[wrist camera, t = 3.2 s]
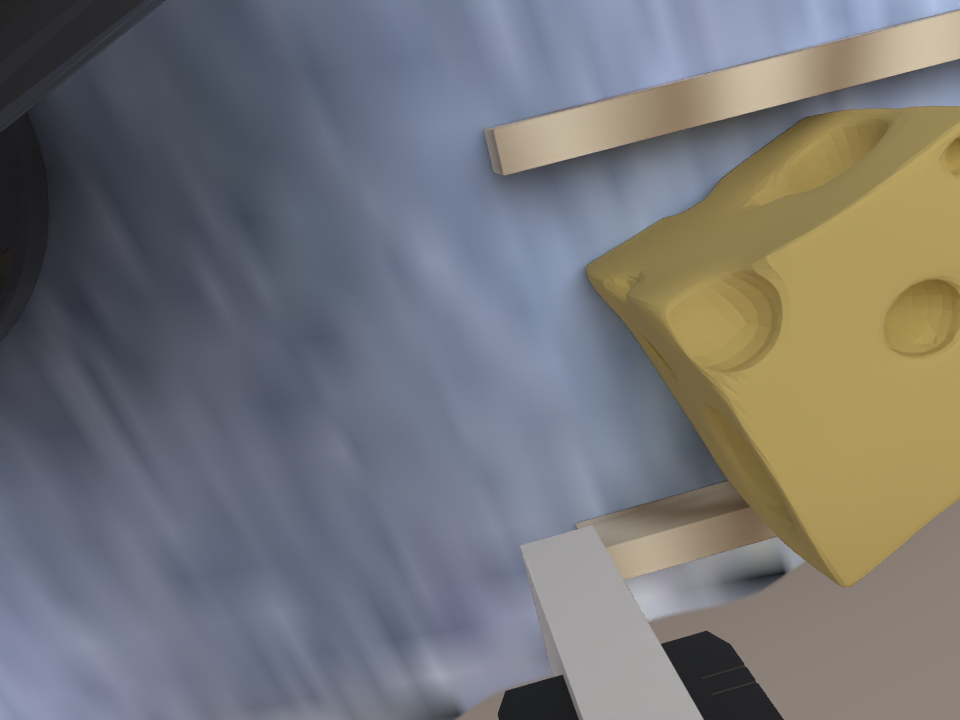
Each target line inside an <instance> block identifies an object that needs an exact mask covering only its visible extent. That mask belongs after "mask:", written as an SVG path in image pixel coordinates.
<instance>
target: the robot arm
mask: <svg viewBox="0 0 960 720" xmlns="http://www.w3.org/2000/svg"><path fill="white" fill-rule="evenodd" d="M164 1H166V0H0V341H1V340H2V339H3V338H4V337H5V335H6V334H7V333H8V331H9V330H10V329H11V327H12V326H13V325H14V323H15V322H16V320H17V319H18V317H19V315H20V314H21V312H22V311H23V309H24V307H25V305H26V303H27V301H28V299H29V297H30V295H31V293H32V290H33V288H34V285H35V283H36V280H37V277H38V274H39V271H40V268H41V264H42V260H43V256H44V251H45V245H46V238H47V228H48V195H47V184H46V178H45V172H44V166H43V162H42V158H41V154H40V150H39V146H38V143H37V140H36V137H35V134H34V131H33V128H32V126H31V123H30V121H29V119H28V116H27V114H26V112H27V111H28V110H29V109H31V108H32V107H33V106H34V105H36V104H37V103H38V102H39V101H41V100H42V99H43V98H44V97H46V96H47V95H48V94H49V93H51V92H52V91H53V90H54V89H56V88H57V87H58V86H59V85H61V84H62V83H63V82H64V81H66V80H67V79H68V78H69V77H71V76H72V75H73V74H74V73H76V72H77V71H78V70H79V69H81V68H82V67H83V66H84V65H86V64H87V63H88V62H89V61H91V60H92V59H93V58H94V57H96V56H97V55H98V54H99V53H101V52H102V51H103V50H104V49H106V48H107V47H108V46H109V45H111V44H112V43H113V42H114V41H116V40H117V39H118V38H119V37H121V36H122V35H123V34H124V33H126V32H127V31H128V30H129V29H131V28H132V27H133V26H134V25H136V24H137V23H138V22H139V21H141V20H142V19H143V18H144V17H146V16H147V15H148V14H149V13H151V12H152V11H153V10H154V9H156V8H157V7H158V6H159V5H161V4H162V3H163V2H164ZM520 548H521V552H522V556H523V560H524V564H525V568H526V572H527V576H528V580H529V584H530V588H531V592H532V596H533V600H534V603H535V607H536V611H537V615H538V619H539V623H540V627H541V631H542V635H543V639H544V643H545V647H546V651H547V655H548V658H549V662H550V665H551V668H552V671H553V674H554V677H553V678H549V679H546V680H542V681H539V682H536V683H532V684H528V685H525V686H521V687H518V688H514V689H511V690H508V691H505V694H504V697H503V700H502V703H501V706H500V709H499V712H498V717H499V720H784V719H783V718H782V717H781V715H780V714H779V712H778V711H777V709H776V708H775V707H774V705H773V704H772V702H771V701H770V700H769V698H768V697H767V695H766V694H765V692H764V691H763V690H762V688H761V687H760V686H759V684H758V683H756V681H755V679H754V677H753V676H752V674H751V673H750V671H749V670H748V669H747V667H746V668H745V665H744V663H743V662H742V660H741V659H740V657H739V656H738V655H737V653H736V652H735V650H734V649H733V648H732V646H731V645H730V644H729V643H727V642H725V641H724V640H722V639H720V638H718V637H717V636H715V635H713V634H711V633H710V632H708V631H704V632H701V633H697V634H694V635H691V636H687V637H683V638H680V639H677V640H673V641H670V642H666V643H663V644H660V642H659V641H658V639H657V637H656V635H655V634H654V632H653V630H652V628H651V627H650V625H649V623H648V621H647V620H646V618H645V616H644V614H643V613H642V611H641V609H640V607H639V606H638V604H637V602H636V600H635V599H634V597H633V595H632V593H631V592H630V590H629V588H628V586H627V585H626V583H625V581H624V579H623V578H622V576H621V574H620V572H619V571H618V569H617V567H616V565H615V564H614V562H613V560H612V558H611V557H610V555H609V553H608V551H607V550H606V548H605V546H604V544H603V543H602V541H601V539H600V537H599V536H598V534H597V532H596V530H595V529H594V527H593V525H591V526H588V527H584V528H581V529H577V530H573V531H570V532H566V533H563V534H559V535H555V536H552V537H548V538H545V539H541V540H538V541H534V542H530V543H527V544H523V545H520Z"/></svg>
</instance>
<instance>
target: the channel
mask: <svg viewBox="0 0 960 720" xmlns="http://www.w3.org/2000/svg"><path fill="white" fill-rule="evenodd" d="M956 59H960V9H958V10H954V11H950V12H946V13H942V14H938V15H934V16H930V17H926V18H922V19H919V20H915V21H911V22H907V23H903V24H899V25H895V26H891V27H887V28H883V29H879V30H875V31H871V32H867V33H863V34H859V35H855V36H851V37H847V38H844V39H840V40H836V41H832V42H828V43H824V44H820V45H816V46H812V47H808V48H804V49H800V50H796V51H792V52H788V53H784V54H780V55H776V56H773V57H769V58H765V59H761V60H757V61H753V62H749V63H745V64H741V65H737V66H733V67H729V68H725V69H721V70H717V71H713V72H709V73H705V74H702V75H698V76H694V77H690V78H686V79H682V80H678V81H674V82H670V83H666V84H662V85H658V86H654V87H650V88H646V89H642V90H638V91H634V92H631V93H627V94H623V95H619V96H615V97H611V98H607V99H603V100H599V101H595V102H591V103H587V104H583V105H579V106H575V107H571V108H567V109H563V110H560V111H556V112H552V113H548V114H544V115H540V116H536V117H532V118H528V119H524V120H520V121H516V122H512V123H508V124H504V125H500V126H496V127H492V128H488V129H485V130H484V134H485V138H486V142H487V146H488V151H489V155H490V159H491V164H492V168H493V172H494V173H497V174H500V175H503V176H505V175H508V174H512V173H516V172H520V171H524V170H528V169H532V168H536V167H540V166H543V165H547V164H551V163H555V162H559V161H563V160H567V159H571V158H575V157H579V156H582V155H586V154H590V153H594V152H598V151H602V150H606V149H610V148H614V147H617V146H621V145H625V144H629V143H633V142H637V141H641V140H645V139H649V138H653V137H656V136H660V135H664V134H668V133H672V132H676V131H680V130H684V129H688V128H691V127H695V126H699V125H703V124H707V123H711V122H715V121H719V120H723V119H727V118H730V117H734V116H738V115H742V114H746V113H750V112H754V111H758V110H762V109H765V108H769V107H773V106H777V105H781V104H785V103H789V102H793V101H797V100H801V99H804V98H808V97H812V96H816V95H820V94H824V93H828V92H832V91H836V90H839V89H843V88H847V87H851V86H855V85H859V84H863V83H867V82H871V81H874V80H878V79H882V78H886V77H890V76H894V75H898V74H902V73H906V72H910V71H913V70H917V69H921V68H925V67H929V66H933V65H937V64H941V63H945V62H948V61H952V60H956ZM591 525H593V527H594V529H595V530H596V532H597V534H598V536H599V537H600V539H601V541H602V543H603V544H604V546H605V548H606V550H607V551H608V553H609V555H610V557H611V558H612V560H613V562H614V564H615V565H616V567H617V569H618V571H619V572H620V574H621V576H622V578H623V579H624V580H626V579H630V578H633V577H637V576H640V575H644V574H647V573H651V572H654V571H658V570H661V569H665V568H668V567H672V566H675V565H679V564H682V563H686V562H689V561H693V560H696V559H700V558H704V557H707V556H711V555H714V554H718V553H721V552H725V551H728V550H732V549H735V548H739V547H742V546H746V545H749V544H753V543H756V542H760V541H763V540H767V539H770V538H774V537H777V536H776V535H775V534H774V532H773V531H772V530H771V529H770V528H769V527H768V526H767V525H766V524H765V523H764V522H763V521H762V519H761V518H760V517H759V516H758V515H757V514H756V513H755V512H754V510H753V509H752V508H751V507H750V506H749V505H748V504H747V503H746V501H745V500H744V499H743V498H742V497H741V496H740V494H739V493H738V492H737V491H736V489H735V488H734V487H733V486H732V484H731V483H730V482H729V481H725V482H722V483H718V484H714V485H711V486H707V487H704V488H700V489H697V490H693V491H689V492H686V493H682V494H679V495H675V496H672V497H668V498H665V499H661V500H657V501H654V502H650V503H647V504H643V505H640V506H636V507H632V508H629V509H625V510H622V511H618V512H615V513H611V514H607V515H604V516H600V517H597V518H593V519H590V520H586V521H583V522H579V523H576V528H577V529H581V528H584V527H588V526H591Z"/></svg>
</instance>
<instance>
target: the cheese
mask: <svg viewBox="0 0 960 720" xmlns="http://www.w3.org/2000/svg"><path fill="white" fill-rule="evenodd" d="M586 274H587V276H588V279H589V281H590V282H591V284H592V285H593V287H594V288H595V290H596V291H597V292H598V294H599V295H600V296H601V297H602V298H603V299H604V301H605V302H606V303H607V304H608V305H609V306H610V307H611V308H612V309H613V310H614V311H615V313H616V314H617V315H618V316H619V317H620V318H621V319H622V321H623V322H624V323H625V324H626V326H627V327H628V328H629V330H630V331H631V333H632V334H633V335H634V337H635V338H636V340H637V341H638V342H639V344H640V345H641V347H642V348H643V350H644V351H645V353H646V355H647V356H648V358H649V359H650V361H651V362H652V364H653V365H654V367H655V368H656V370H657V371H658V373H659V374H660V376H661V377H662V379H663V380H664V382H665V383H666V385H667V386H668V388H669V390H670V391H671V393H672V394H673V396H674V397H675V399H676V400H677V402H678V403H679V405H680V406H681V408H682V409H683V411H684V412H685V414H686V415H687V417H688V418H689V420H690V422H691V423H692V425H693V426H694V428H695V429H696V431H697V433H698V434H699V436H700V437H701V439H702V441H703V442H704V444H705V445H706V447H707V449H708V450H709V452H710V453H711V455H712V457H713V458H714V460H715V461H716V463H717V465H718V466H719V468H720V469H721V471H722V472H723V474H724V475H725V476H726V478H727V479H728V481H729V482H730V483H731V484H732V486H733V487H734V488H735V489H736V491H737V492H738V493H739V494H740V496H741V497H742V498H743V499H744V500H745V501H746V503H747V504H748V505H749V506H750V507H751V508H752V509H753V510H754V512H755V513H756V514H757V515H758V516H759V517H760V518H761V519H762V521H763V522H764V523H765V524H766V525H767V526H768V527H769V528H770V529H771V530H772V531H773V532H774V534H775V535H776V536H778V537H779V538H780V539H781V540H782V541H783V542H784V543H785V544H786V545H787V546H788V547H790V548H791V549H792V550H793V551H794V552H795V553H797V554H798V555H799V556H801V557H802V558H803V559H804V560H806V561H807V562H808V563H809V564H811V565H812V566H813V567H815V568H816V569H817V570H819V571H820V572H821V573H823V574H824V575H826V576H827V577H828V578H830V579H831V580H832V581H834V582H835V583H836V584H838V585H840V586H842V587H844V588H845V587H850V586H852V585H854V584H855V583H856V582H857V581H859V580H860V579H861V578H863V577H864V576H865V575H866V574H868V573H869V572H870V571H871V570H872V569H873V568H875V567H876V566H877V565H879V564H880V563H881V562H882V561H883V560H885V559H886V558H887V557H888V556H889V555H890V554H892V553H893V552H894V551H895V550H897V549H898V548H899V547H900V546H901V545H902V544H904V543H905V542H906V541H907V540H908V539H909V538H911V537H912V536H913V535H914V534H915V533H916V532H918V531H919V530H920V529H921V528H922V527H923V526H924V525H926V524H927V523H928V522H930V521H931V520H932V519H933V518H934V517H935V516H937V515H938V514H940V513H941V512H942V511H944V510H945V509H946V508H948V507H949V506H950V505H952V504H953V503H955V502H956V501H957V500H959V499H960V106H923V107H908V108H900V109H888V108H882V109H856V110H843V111H836V112H830V113H825V114H820V115H814V116H808V117H806V118H804V119H802V120H801V121H799V122H798V123H796V124H795V125H794V126H792V127H791V128H789V129H788V130H786V131H785V132H784V133H782V134H781V135H780V136H778V137H777V138H775V139H774V140H773V141H771V142H770V143H768V144H767V145H766V146H764V147H763V148H762V149H760V150H759V151H757V152H756V153H755V154H753V155H752V156H751V157H749V158H748V159H747V160H745V161H744V162H742V163H741V164H740V165H738V166H737V167H736V168H734V169H733V170H732V171H731V172H729V173H728V174H727V175H726V176H725V177H723V178H722V179H721V180H720V181H719V182H718V184H717V185H716V186H715V187H714V189H713V190H712V191H711V193H710V194H709V195H708V196H707V197H706V198H705V199H704V200H703V201H701V202H700V203H698V204H697V205H695V206H693V207H692V208H690V209H688V210H686V211H684V212H682V213H680V214H678V215H674V216H671V217H666V218H663V219H661V220H659V221H658V222H656V223H654V224H653V225H651V226H649V227H648V228H646V229H645V230H643V231H642V232H640V233H639V234H637V235H636V236H634V237H632V238H631V239H629V240H628V241H626V242H624V243H622V244H621V245H619V246H617V247H615V248H614V249H612V250H610V251H609V252H607V253H606V254H604V255H602V256H601V257H599V258H597V259H596V260H594V261H593V262H591V263H590V264H588V265H587V266H586Z"/></svg>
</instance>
